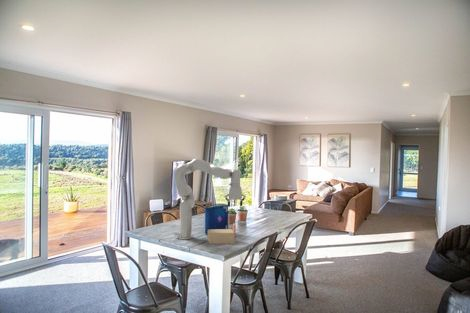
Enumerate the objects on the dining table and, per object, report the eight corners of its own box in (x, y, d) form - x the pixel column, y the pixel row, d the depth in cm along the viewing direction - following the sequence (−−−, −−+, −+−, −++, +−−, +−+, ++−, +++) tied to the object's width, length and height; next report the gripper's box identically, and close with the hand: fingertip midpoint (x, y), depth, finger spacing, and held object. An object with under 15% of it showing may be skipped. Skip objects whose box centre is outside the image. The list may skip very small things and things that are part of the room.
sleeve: (209, 243, 242) (209, 233, 242) (207, 239, 254) (207, 229, 254) (234, 242, 246) (234, 232, 246) (231, 238, 258) (231, 228, 258)
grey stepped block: (210, 242, 243) (211, 225, 243) (208, 238, 253) (209, 223, 253) (235, 241, 248) (236, 225, 248) (233, 237, 257) (233, 222, 257)
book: (207, 236, 264) (208, 206, 264) (203, 234, 270) (204, 205, 270) (228, 232, 277) (229, 204, 277) (224, 231, 283) (224, 203, 283)
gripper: (225, 185, 247) (225, 207, 247) (247, 185, 250) (246, 207, 250) (224, 184, 254) (223, 205, 254) (244, 184, 258) (244, 205, 258)
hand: (235, 206), depth 252 cm, fingers open, 9 cm apart
